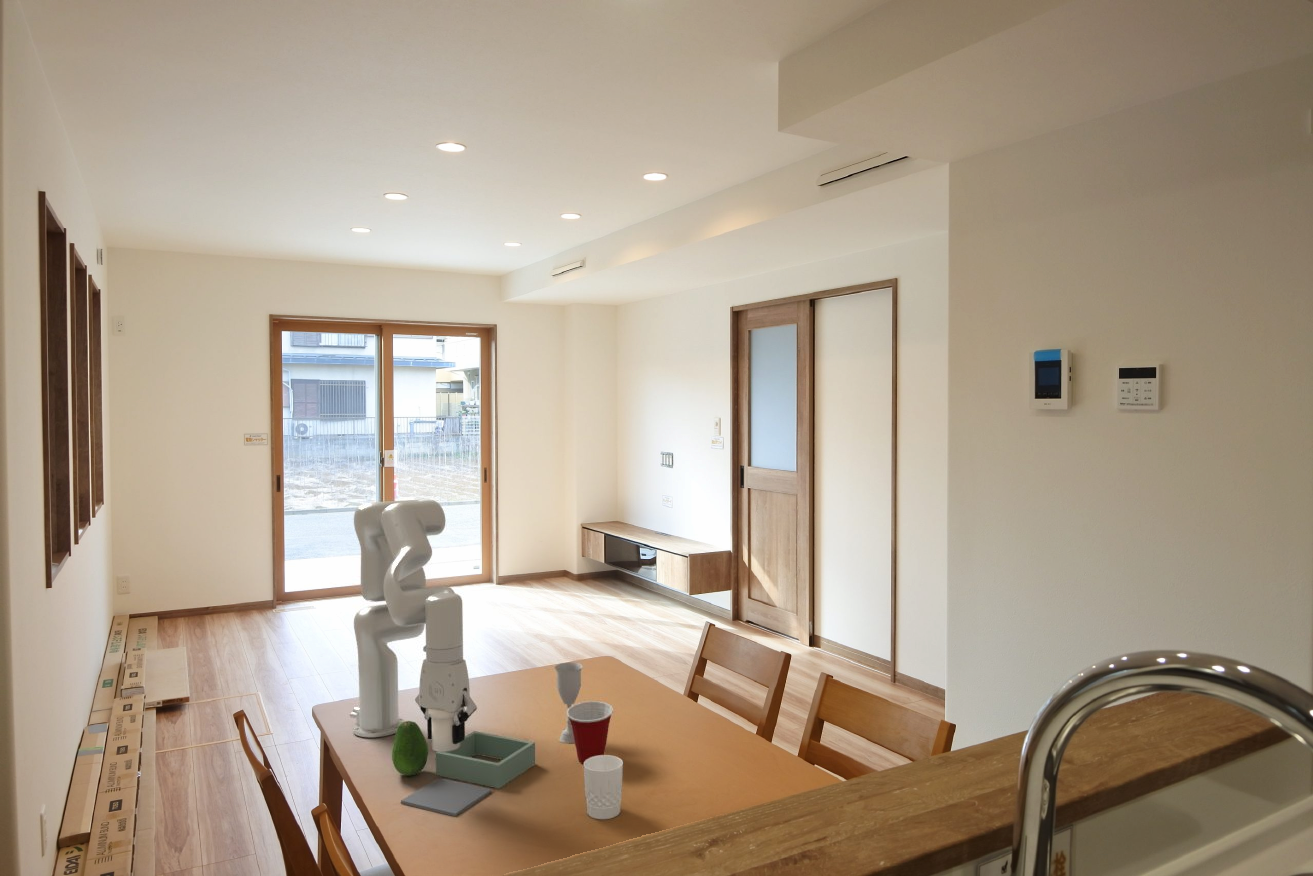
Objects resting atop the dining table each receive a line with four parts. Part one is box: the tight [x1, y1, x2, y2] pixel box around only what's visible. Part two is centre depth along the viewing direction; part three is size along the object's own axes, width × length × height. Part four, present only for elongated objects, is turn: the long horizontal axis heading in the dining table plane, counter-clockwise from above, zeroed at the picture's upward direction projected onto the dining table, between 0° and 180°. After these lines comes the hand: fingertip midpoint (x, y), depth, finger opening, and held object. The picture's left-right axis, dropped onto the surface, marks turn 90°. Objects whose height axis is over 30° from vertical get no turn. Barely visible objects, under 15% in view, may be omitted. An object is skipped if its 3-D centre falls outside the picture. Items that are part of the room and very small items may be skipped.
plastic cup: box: [565, 700, 614, 765], centre depth 196 cm, size 11×11×12 cm
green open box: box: [435, 730, 536, 789], centre depth 191 cm, size 17×14×5 cm
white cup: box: [583, 754, 624, 820], centre depth 170 cm, size 8×8×10 cm
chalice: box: [554, 661, 584, 744], centre depth 208 cm, size 7×7×18 cm
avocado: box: [391, 720, 429, 777], centre depth 188 cm, size 8×8×12 cm
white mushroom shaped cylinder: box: [428, 708, 461, 752], centre depth 177 cm, size 7×7×9 cm
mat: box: [400, 777, 493, 818], centre depth 177 cm, size 14×12×1 cm
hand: (446, 738), depth 177 cm, fingers closed on white mushroom shaped cylinder, 5 cm apart
